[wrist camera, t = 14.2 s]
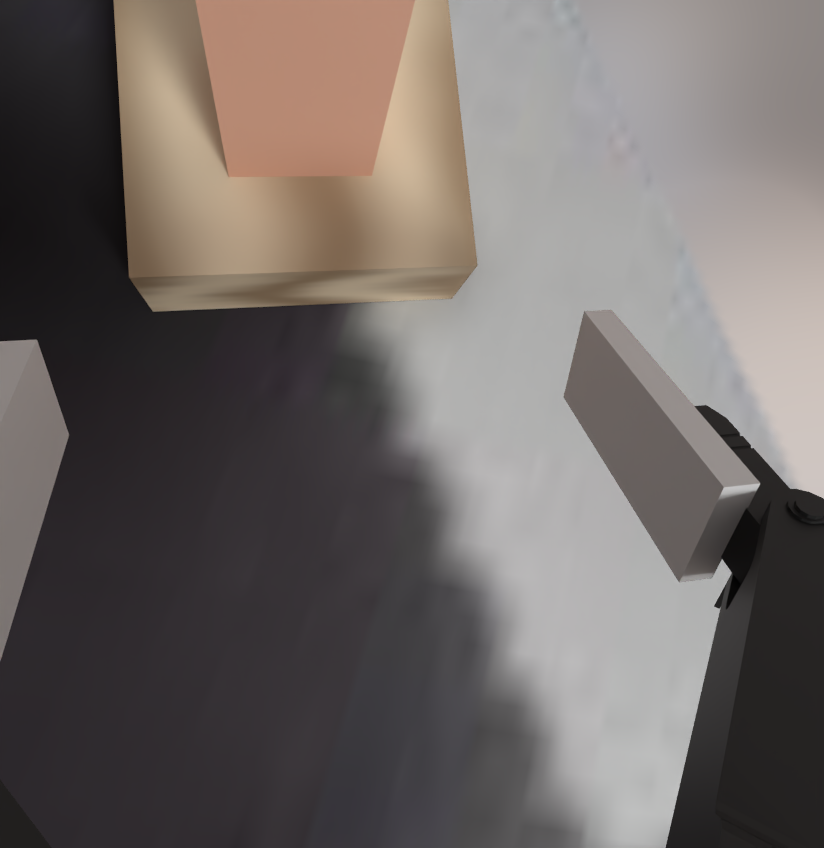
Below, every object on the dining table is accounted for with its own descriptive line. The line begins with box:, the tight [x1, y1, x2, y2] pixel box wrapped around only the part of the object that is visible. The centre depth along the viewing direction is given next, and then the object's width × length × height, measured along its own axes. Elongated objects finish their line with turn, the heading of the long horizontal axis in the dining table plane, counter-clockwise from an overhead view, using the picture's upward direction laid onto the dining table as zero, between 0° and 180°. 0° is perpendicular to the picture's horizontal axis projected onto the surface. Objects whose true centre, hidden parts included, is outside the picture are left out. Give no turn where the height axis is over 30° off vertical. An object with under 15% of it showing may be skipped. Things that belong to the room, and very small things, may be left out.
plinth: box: [114, 0, 477, 312], centre depth 26 cm, size 12×12×4 cm
